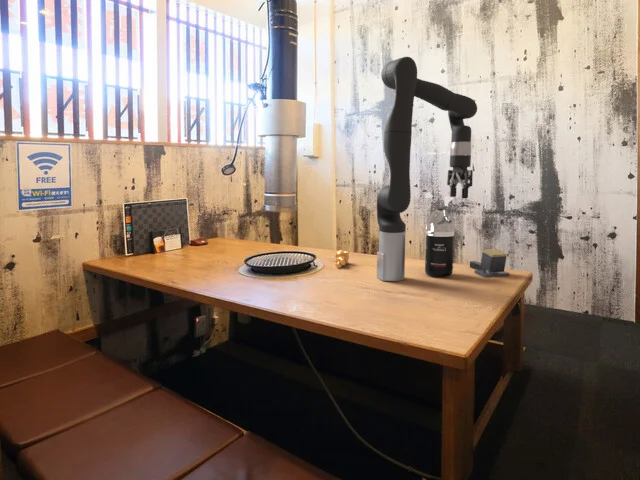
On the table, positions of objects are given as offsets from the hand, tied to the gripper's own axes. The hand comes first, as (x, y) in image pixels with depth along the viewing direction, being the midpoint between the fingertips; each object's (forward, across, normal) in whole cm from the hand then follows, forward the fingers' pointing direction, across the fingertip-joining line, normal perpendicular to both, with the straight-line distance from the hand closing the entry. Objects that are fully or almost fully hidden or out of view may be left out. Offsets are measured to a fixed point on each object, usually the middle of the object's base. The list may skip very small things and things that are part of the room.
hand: (458, 197), depth 170 cm
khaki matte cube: (+26, +11, +9) cm, 30 cm away
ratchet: (+28, +6, +8) cm, 30 cm away
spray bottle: (+28, +7, -11) cm, 31 cm away
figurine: (+28, -18, -41) cm, 53 cm away
